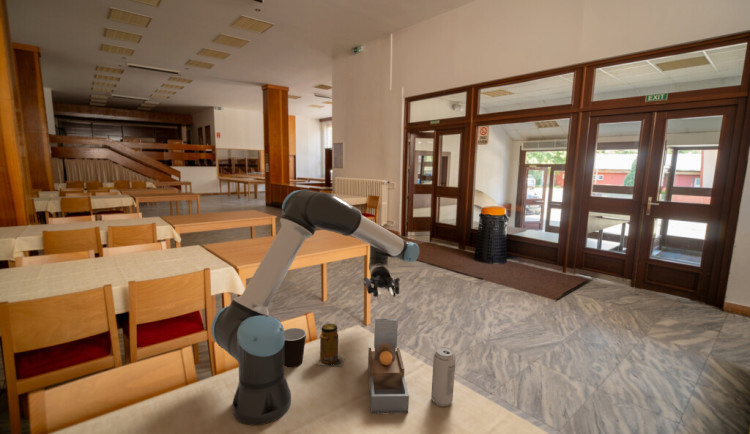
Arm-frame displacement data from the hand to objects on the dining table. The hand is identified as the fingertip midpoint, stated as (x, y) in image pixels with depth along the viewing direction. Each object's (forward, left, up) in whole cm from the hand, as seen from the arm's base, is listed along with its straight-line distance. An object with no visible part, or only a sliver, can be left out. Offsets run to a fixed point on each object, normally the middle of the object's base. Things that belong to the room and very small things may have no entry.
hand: (385, 298), depth 110 cm
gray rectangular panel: (+1, -4, -18) cm, 18 cm away
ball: (+2, -7, -16) cm, 18 cm away
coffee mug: (-30, -3, -24) cm, 39 cm away
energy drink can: (+19, -12, -24) cm, 33 cm away
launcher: (+2, -6, -24) cm, 25 cm away
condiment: (-18, 0, -24) cm, 30 cm away
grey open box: (+4, -16, -24) cm, 29 cm away
